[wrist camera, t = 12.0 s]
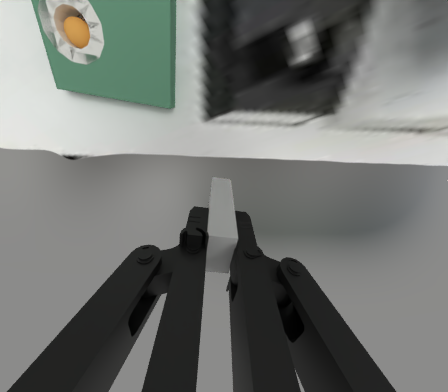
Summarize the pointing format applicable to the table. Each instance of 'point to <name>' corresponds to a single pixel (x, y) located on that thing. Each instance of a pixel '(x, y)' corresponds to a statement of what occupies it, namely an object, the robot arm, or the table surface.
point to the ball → (77, 31)
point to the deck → (113, 48)
